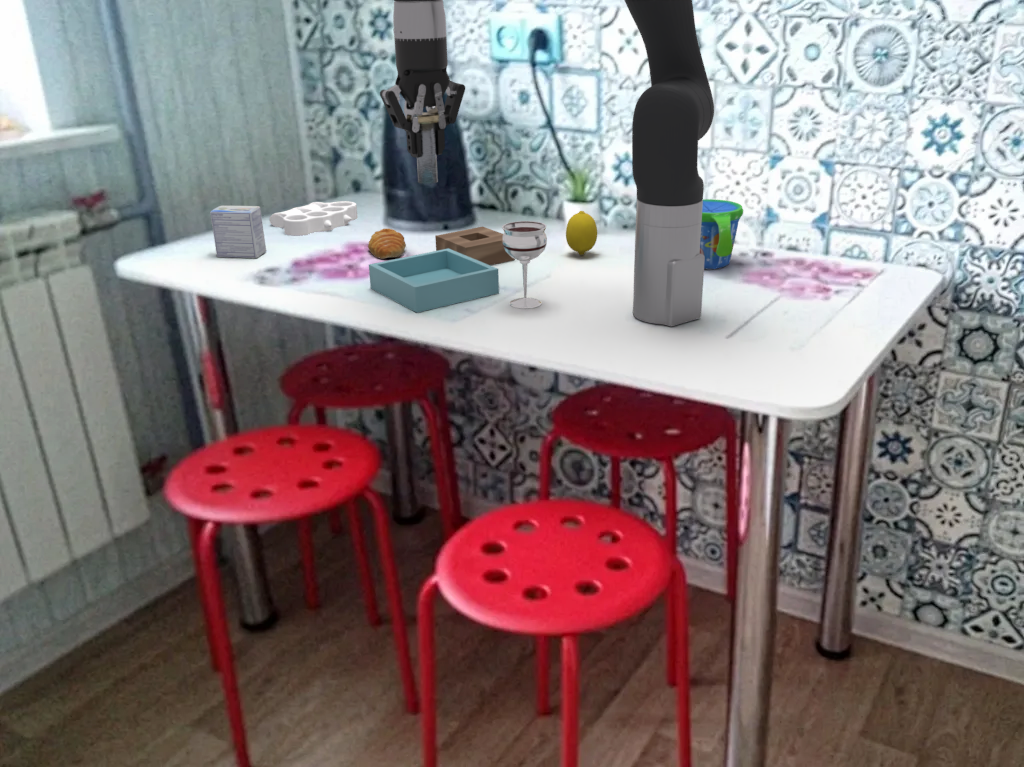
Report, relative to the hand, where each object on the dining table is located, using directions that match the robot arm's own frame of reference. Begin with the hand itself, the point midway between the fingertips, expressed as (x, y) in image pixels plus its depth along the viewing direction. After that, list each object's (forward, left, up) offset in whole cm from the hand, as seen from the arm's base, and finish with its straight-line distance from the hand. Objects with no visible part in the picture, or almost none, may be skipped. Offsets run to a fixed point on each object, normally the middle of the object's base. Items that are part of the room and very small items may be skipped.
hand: (426, 154), depth 146 cm
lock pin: (0, 0, -4) cm, 4 cm away
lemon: (+1, -31, -22) cm, 38 cm away
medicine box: (+40, +17, -22) cm, 49 cm away
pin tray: (0, 0, -22) cm, 22 cm away
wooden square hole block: (+11, -15, -22) cm, 28 cm away
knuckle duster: (+52, -3, -22) cm, 57 cm away
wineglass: (-14, -8, -22) cm, 27 cm away
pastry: (+25, -5, -22) cm, 33 cm away
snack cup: (-17, -44, -22) cm, 52 cm away
